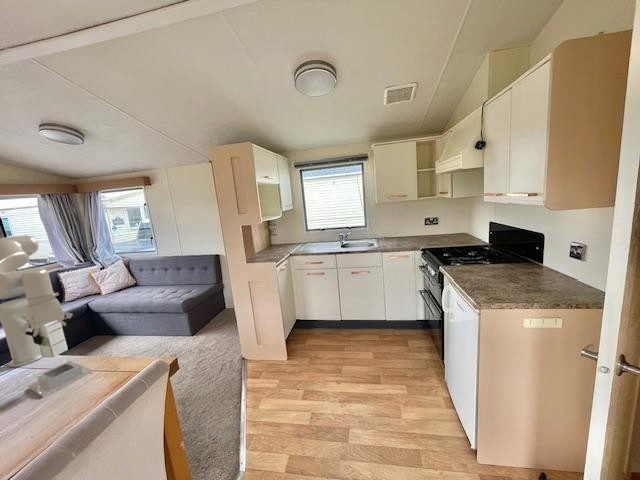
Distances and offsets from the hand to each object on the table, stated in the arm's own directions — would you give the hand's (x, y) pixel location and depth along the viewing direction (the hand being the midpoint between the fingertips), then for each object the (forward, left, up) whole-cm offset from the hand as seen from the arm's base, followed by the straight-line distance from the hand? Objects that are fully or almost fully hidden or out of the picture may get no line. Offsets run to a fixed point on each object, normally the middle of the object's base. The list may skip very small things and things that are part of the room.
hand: (51, 338), depth 107 cm
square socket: (0, 0, -19) cm, 19 cm away
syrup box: (0, 0, -7) cm, 7 cm away
